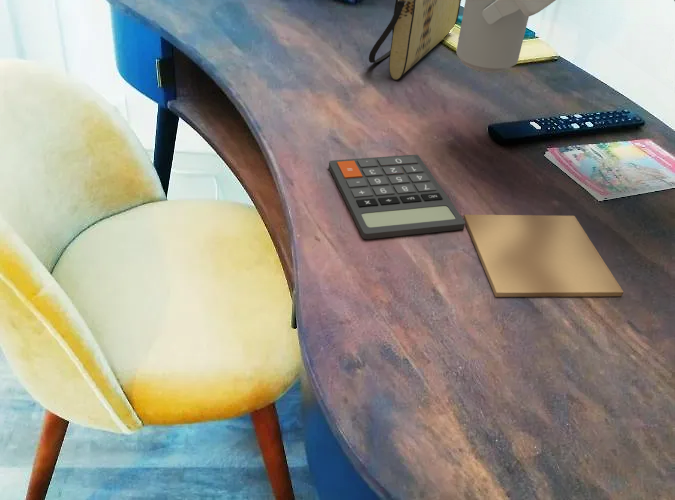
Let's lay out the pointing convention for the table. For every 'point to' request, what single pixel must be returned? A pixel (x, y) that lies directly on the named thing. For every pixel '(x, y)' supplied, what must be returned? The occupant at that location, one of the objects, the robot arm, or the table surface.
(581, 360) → the table surface
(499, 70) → the can
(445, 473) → the table surface
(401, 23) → the clutch purse
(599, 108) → the table surface
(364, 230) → the calculator
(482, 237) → the cork mat
